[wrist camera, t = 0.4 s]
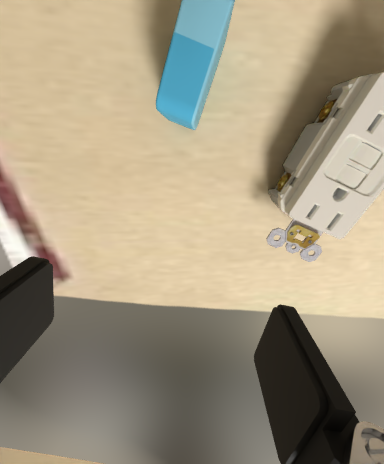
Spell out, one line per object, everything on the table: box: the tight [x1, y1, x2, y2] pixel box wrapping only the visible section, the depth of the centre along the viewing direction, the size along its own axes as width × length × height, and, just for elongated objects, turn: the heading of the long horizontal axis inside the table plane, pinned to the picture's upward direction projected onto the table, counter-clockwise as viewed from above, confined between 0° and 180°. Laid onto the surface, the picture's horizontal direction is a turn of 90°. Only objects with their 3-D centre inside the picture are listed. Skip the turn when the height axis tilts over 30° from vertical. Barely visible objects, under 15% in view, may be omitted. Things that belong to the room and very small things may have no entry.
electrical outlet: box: [266, 71, 384, 262], centre depth 32 cm, size 12×28×10 cm, turn 157°
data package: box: [156, 0, 235, 130], centre depth 27 cm, size 12×4×12 cm, turn 160°
